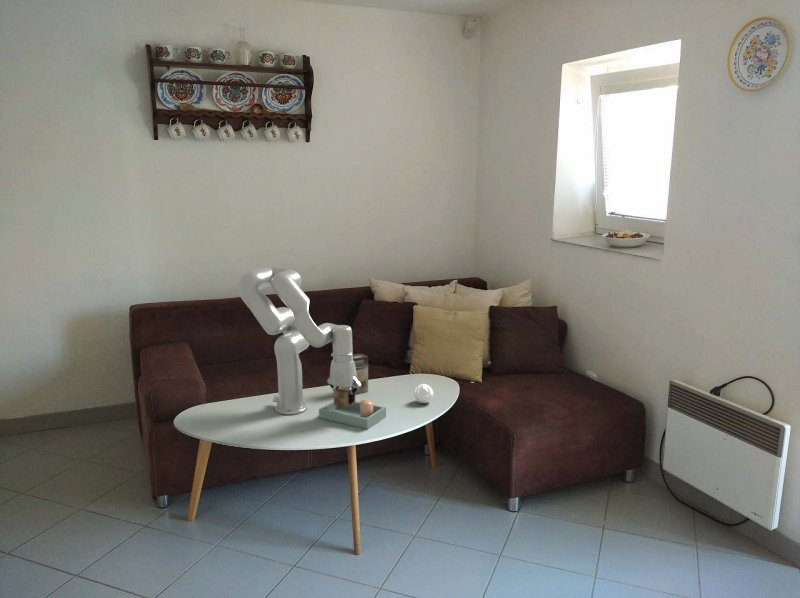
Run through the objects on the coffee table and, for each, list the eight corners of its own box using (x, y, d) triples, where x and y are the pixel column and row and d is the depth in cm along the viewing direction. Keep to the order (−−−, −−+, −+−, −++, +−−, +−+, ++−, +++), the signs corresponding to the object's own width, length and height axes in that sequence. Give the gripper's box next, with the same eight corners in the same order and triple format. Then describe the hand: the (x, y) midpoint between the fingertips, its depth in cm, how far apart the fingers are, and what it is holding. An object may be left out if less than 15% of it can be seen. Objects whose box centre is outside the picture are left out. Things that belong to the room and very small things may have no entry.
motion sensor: (414, 405, 258) (414, 387, 256) (413, 399, 265) (413, 381, 264) (433, 405, 258) (433, 387, 256) (432, 399, 265) (432, 381, 264)
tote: (319, 418, 244) (318, 409, 244) (339, 407, 256) (339, 397, 256) (367, 429, 234) (367, 419, 233) (386, 416, 246) (385, 407, 245)
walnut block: (334, 405, 245) (333, 390, 244) (342, 400, 250) (342, 386, 249) (346, 407, 242) (346, 392, 241) (355, 402, 247) (354, 388, 246)
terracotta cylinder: (358, 420, 241) (357, 403, 239) (363, 415, 245) (363, 398, 244) (369, 422, 239) (369, 405, 237) (375, 417, 243) (375, 400, 242)
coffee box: (350, 395, 270) (349, 359, 266) (343, 391, 275) (342, 356, 272) (368, 391, 275) (368, 356, 271) (361, 387, 280) (360, 352, 277)
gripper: (319, 357, 243) (321, 401, 247) (356, 362, 235) (358, 408, 239) (330, 352, 250) (331, 395, 253) (367, 357, 241) (368, 401, 245)
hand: (344, 401), depth 246 cm, fingers closed on walnut block, 6 cm apart
